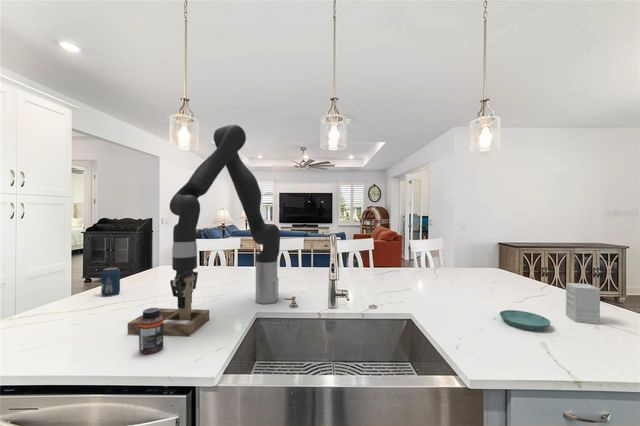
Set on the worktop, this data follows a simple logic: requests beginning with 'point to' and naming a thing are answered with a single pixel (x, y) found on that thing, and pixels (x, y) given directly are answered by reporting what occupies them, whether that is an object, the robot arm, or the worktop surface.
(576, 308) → the supplement box
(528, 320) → the saucer
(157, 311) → the supplement bottle
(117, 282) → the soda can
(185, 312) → the handle
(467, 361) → the worktop surface
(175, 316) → the brown wooden frame
